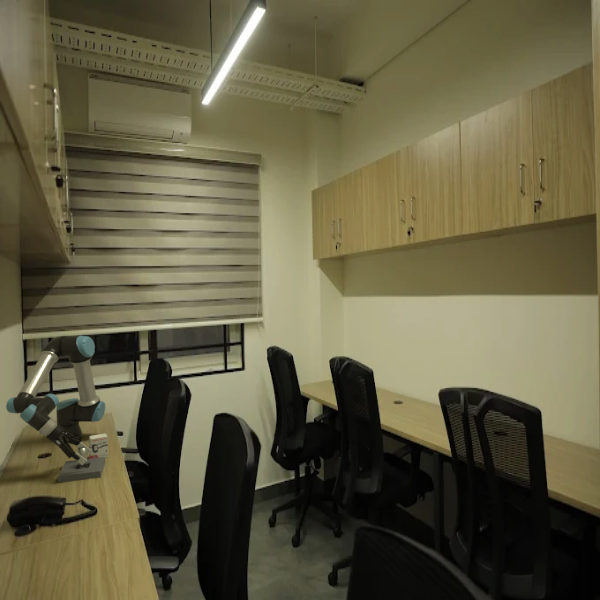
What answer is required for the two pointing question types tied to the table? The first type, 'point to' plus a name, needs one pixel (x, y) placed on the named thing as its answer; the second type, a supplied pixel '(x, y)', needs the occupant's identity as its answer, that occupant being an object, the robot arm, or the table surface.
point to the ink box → (98, 446)
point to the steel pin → (83, 453)
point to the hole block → (82, 470)
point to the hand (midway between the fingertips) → (87, 457)
